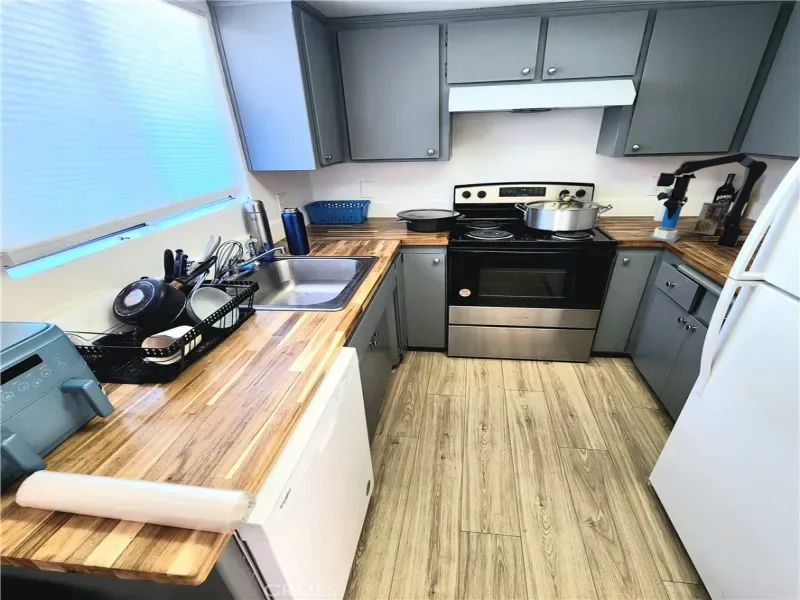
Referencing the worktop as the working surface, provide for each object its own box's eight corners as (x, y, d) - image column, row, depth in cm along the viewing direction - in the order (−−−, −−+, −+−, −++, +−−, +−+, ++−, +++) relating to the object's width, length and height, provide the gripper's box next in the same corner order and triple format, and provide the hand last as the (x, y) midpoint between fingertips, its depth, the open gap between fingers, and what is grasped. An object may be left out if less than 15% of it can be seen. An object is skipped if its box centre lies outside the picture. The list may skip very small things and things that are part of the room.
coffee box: (714, 233, 191) (725, 203, 183) (713, 235, 186) (725, 205, 179) (693, 230, 196) (704, 202, 189) (692, 232, 192) (703, 204, 185)
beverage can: (674, 230, 177) (682, 207, 172) (659, 228, 181) (666, 206, 176) (675, 227, 182) (682, 204, 177) (660, 226, 186) (667, 203, 180)
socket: (680, 238, 183) (683, 229, 181) (673, 242, 176) (676, 233, 174) (654, 234, 192) (657, 225, 189) (647, 238, 185) (650, 229, 183)
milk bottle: (656, 222, 215) (667, 189, 206) (650, 219, 222) (660, 187, 213) (670, 222, 214) (681, 189, 205) (663, 219, 220) (674, 187, 211)
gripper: (667, 183, 183) (658, 212, 190) (656, 188, 172) (647, 218, 179) (692, 185, 175) (682, 215, 182) (683, 190, 165) (672, 221, 172)
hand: (670, 217), depth 179 cm, fingers closed on beverage can, 6 cm apart
